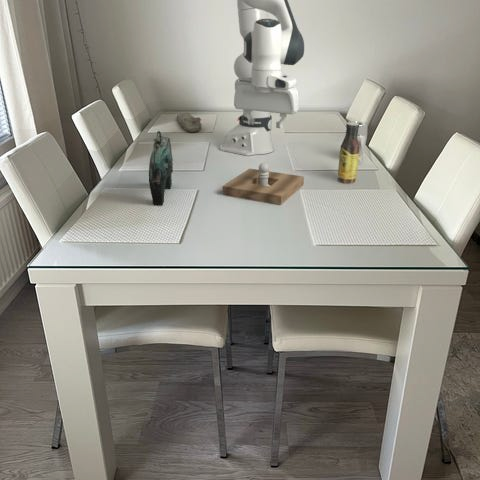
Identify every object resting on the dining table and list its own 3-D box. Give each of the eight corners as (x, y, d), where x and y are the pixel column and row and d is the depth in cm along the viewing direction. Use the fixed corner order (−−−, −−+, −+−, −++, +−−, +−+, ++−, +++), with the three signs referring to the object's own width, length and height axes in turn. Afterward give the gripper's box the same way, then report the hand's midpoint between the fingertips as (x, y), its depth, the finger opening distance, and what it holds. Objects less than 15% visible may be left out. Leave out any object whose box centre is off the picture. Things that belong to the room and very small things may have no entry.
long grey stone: (192, 120, 263) (173, 122, 261) (191, 109, 261) (172, 112, 258) (205, 131, 232) (184, 134, 229) (204, 120, 229) (183, 122, 227)
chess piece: (268, 193, 158) (269, 166, 155) (253, 191, 160) (253, 164, 156) (274, 188, 163) (274, 161, 159) (258, 186, 165) (258, 159, 161)
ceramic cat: (159, 184, 167) (154, 125, 158) (178, 184, 167) (174, 125, 158) (147, 206, 149) (141, 141, 140) (168, 206, 149) (164, 141, 140)
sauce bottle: (335, 178, 171) (340, 120, 163) (352, 177, 172) (358, 120, 163) (340, 184, 165) (345, 125, 157) (358, 184, 166) (364, 125, 157)
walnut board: (222, 195, 157) (222, 186, 156) (249, 176, 173) (249, 168, 172) (280, 205, 149) (281, 195, 148) (303, 185, 165) (303, 176, 164)
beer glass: (364, 166, 184) (368, 125, 177) (345, 165, 185) (348, 125, 179) (363, 160, 190) (368, 121, 183) (345, 159, 191) (349, 120, 185)
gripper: (230, 78, 148) (230, 124, 154) (294, 83, 140) (292, 131, 146) (239, 75, 153) (239, 120, 159) (302, 80, 145) (299, 127, 151)
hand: (265, 126), depth 152 cm, fingers open, 8 cm apart
